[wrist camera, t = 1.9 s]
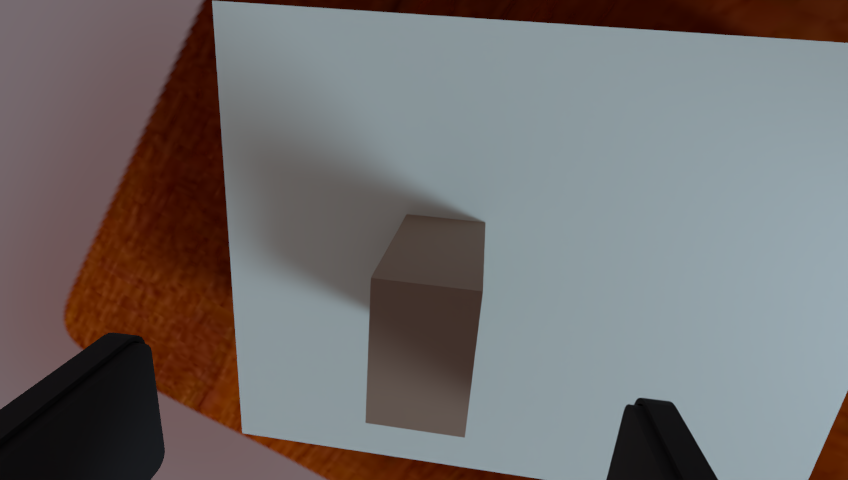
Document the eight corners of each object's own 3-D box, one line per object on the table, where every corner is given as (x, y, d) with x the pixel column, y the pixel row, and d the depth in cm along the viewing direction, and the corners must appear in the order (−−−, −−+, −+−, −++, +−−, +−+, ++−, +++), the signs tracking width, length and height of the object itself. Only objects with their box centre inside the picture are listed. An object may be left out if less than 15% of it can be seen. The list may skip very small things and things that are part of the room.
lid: (967, 53, 13) (1307, 46, 8) (779, 499, 18) (899, 681, 13) (226, 3, 15) (75, -31, 10) (251, 419, 20) (164, 548, 15)
